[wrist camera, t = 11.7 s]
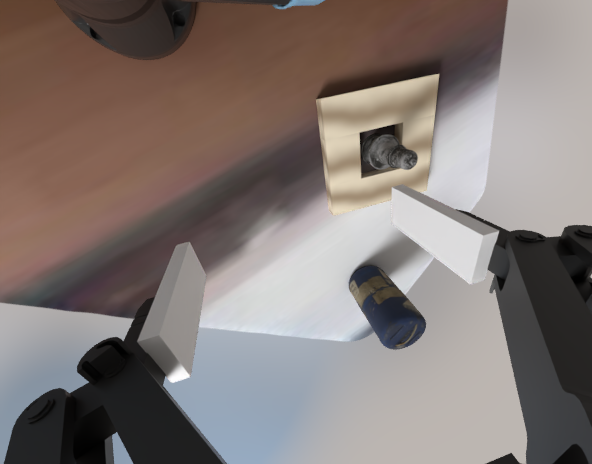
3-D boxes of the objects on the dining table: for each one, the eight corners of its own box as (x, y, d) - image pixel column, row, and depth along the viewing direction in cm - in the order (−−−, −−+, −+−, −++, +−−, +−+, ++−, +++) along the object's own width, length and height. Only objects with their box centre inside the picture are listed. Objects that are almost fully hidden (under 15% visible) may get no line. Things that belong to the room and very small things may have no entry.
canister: (388, 274, 61) (441, 333, 45) (360, 298, 63) (402, 362, 47) (368, 256, 56) (419, 314, 41) (339, 282, 58) (377, 347, 43)
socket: (315, 99, 38) (320, 99, 36) (428, 75, 40) (439, 73, 38) (329, 210, 48) (333, 215, 46) (418, 186, 50) (426, 190, 48)
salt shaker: (390, 129, 43) (438, 138, 33) (387, 162, 46) (431, 179, 36) (359, 134, 42) (400, 144, 32) (358, 167, 45) (395, 186, 35)
